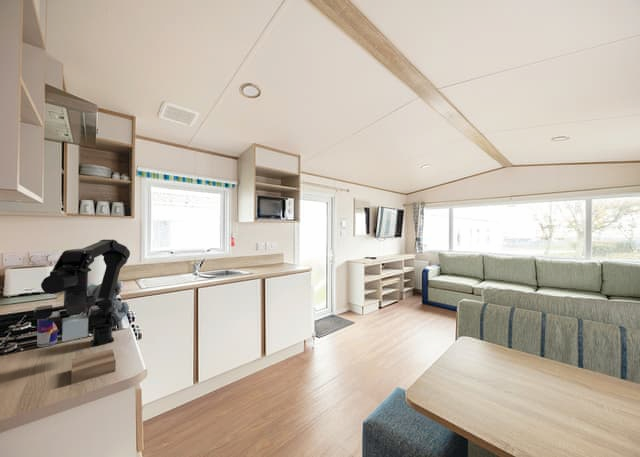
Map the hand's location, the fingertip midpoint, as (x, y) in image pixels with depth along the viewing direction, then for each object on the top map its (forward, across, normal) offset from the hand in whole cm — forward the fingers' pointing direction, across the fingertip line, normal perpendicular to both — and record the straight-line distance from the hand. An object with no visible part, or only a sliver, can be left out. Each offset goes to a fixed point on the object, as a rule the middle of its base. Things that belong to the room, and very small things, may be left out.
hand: (74, 332), depth 85 cm
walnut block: (+10, +4, -12) cm, 16 cm away
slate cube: (+1, 0, 0) cm, 1 cm away
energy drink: (+10, -6, +25) cm, 28 cm away
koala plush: (+10, +13, +42) cm, 46 cm away
